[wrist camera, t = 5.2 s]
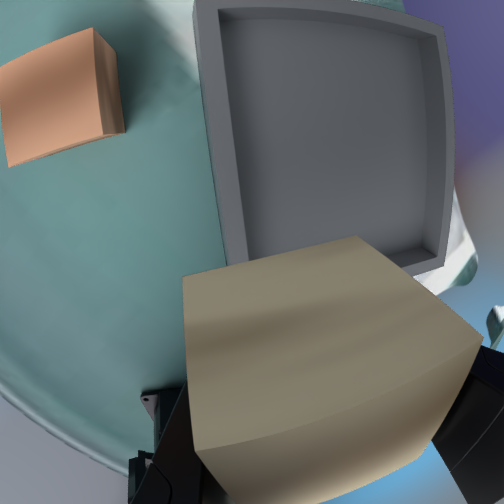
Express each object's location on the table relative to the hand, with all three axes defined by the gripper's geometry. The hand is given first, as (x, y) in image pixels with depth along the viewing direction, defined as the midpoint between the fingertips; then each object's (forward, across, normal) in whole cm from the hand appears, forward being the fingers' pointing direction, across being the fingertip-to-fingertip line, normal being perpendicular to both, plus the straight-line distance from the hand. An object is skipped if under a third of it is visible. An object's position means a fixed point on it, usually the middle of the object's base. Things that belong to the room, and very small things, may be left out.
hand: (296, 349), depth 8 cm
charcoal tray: (+11, -7, -4) cm, 14 cm away
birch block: (+1, 0, 0) cm, 1 cm away
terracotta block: (+11, +7, -9) cm, 16 cm away
